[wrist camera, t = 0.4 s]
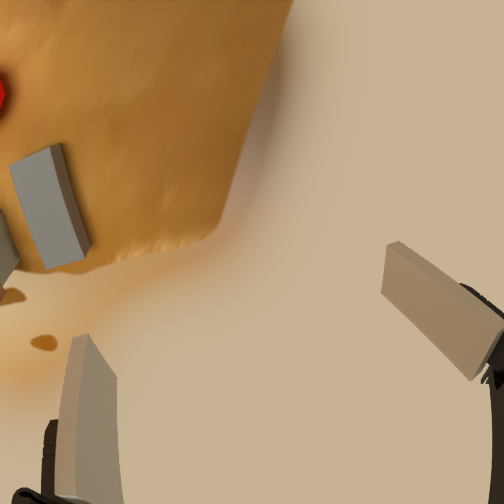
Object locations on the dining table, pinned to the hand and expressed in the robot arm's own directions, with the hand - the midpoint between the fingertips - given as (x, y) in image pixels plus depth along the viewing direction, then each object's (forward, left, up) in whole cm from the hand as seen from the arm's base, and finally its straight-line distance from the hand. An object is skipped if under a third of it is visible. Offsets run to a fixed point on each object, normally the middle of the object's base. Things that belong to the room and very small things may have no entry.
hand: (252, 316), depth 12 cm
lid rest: (-1, -18, -28) cm, 33 cm away
